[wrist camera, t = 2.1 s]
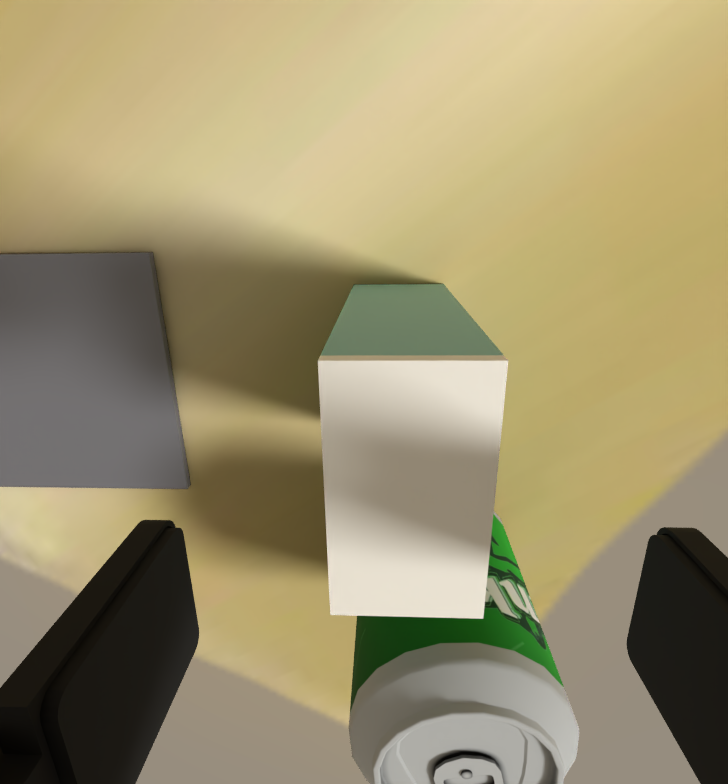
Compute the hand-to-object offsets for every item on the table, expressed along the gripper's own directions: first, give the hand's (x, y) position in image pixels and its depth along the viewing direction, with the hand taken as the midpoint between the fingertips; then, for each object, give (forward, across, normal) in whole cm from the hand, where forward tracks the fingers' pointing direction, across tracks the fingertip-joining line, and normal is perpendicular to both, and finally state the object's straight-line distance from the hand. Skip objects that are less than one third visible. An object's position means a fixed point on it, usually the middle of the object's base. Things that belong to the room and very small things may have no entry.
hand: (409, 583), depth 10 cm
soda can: (+14, -2, +9) cm, 17 cm away
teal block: (+14, 0, -1) cm, 14 cm away
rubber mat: (+14, +17, 0) cm, 22 cm away
